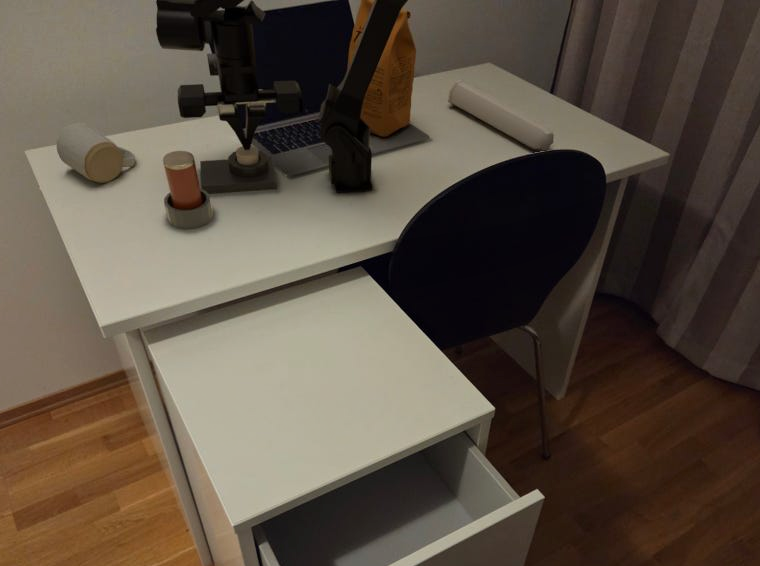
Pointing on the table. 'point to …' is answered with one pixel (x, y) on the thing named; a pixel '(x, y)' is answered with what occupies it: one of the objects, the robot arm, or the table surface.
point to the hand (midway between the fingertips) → (247, 148)
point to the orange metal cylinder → (182, 180)
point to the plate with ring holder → (237, 175)
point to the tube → (501, 116)
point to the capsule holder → (189, 213)
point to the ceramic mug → (92, 153)
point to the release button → (247, 156)
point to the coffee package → (388, 76)
